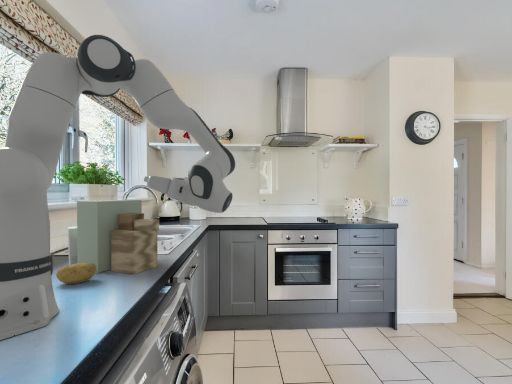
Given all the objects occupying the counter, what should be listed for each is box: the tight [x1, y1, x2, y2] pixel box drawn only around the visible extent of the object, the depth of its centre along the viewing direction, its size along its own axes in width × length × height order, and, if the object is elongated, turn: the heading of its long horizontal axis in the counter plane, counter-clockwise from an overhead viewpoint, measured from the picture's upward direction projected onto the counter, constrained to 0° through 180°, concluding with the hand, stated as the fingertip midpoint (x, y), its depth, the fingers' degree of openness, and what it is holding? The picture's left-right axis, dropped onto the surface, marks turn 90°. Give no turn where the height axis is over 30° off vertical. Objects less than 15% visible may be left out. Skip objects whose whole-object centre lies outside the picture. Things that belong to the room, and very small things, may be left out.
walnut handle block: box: [118, 212, 160, 232], centre depth 107 cm, size 6×16×6 cm, turn 64°
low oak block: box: [110, 230, 159, 275], centre depth 109 cm, size 12×11×15 cm
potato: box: [55, 263, 97, 285], centre depth 92 cm, size 7×11×6 cm, turn 114°
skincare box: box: [67, 225, 77, 265], centre depth 115 cm, size 8×7×16 cm
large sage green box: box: [76, 199, 143, 274], centre depth 114 cm, size 20×12×26 cm, turn 154°
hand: (154, 180), depth 101 cm, fingers open, 8 cm apart
